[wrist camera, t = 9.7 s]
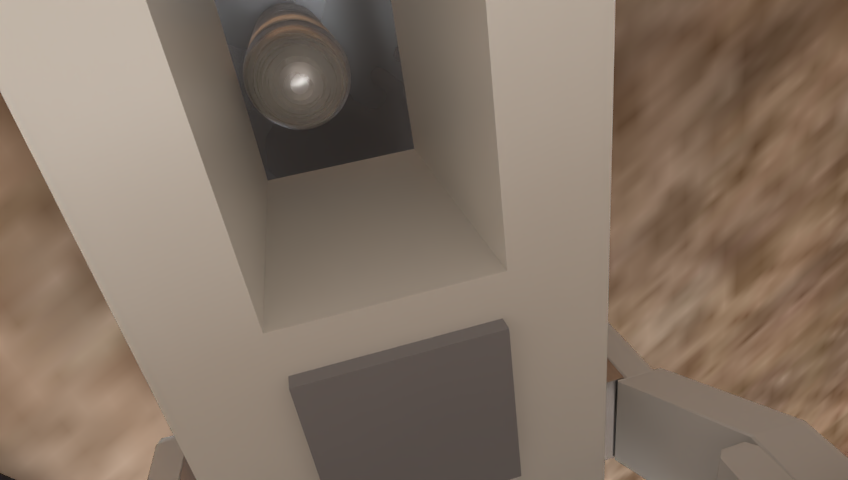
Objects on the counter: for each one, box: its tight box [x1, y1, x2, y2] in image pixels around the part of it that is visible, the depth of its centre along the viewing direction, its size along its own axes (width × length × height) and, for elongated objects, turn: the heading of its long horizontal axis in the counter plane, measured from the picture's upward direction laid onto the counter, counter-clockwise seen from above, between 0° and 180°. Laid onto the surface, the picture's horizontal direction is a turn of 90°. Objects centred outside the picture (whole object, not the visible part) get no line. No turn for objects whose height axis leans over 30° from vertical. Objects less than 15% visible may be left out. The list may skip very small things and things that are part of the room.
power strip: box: [0, 0, 616, 480], centre depth 9 cm, size 5×20×5 cm, turn 8°
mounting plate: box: [214, 0, 414, 180], centre depth 13 cm, size 12×24×6 cm, turn 9°
